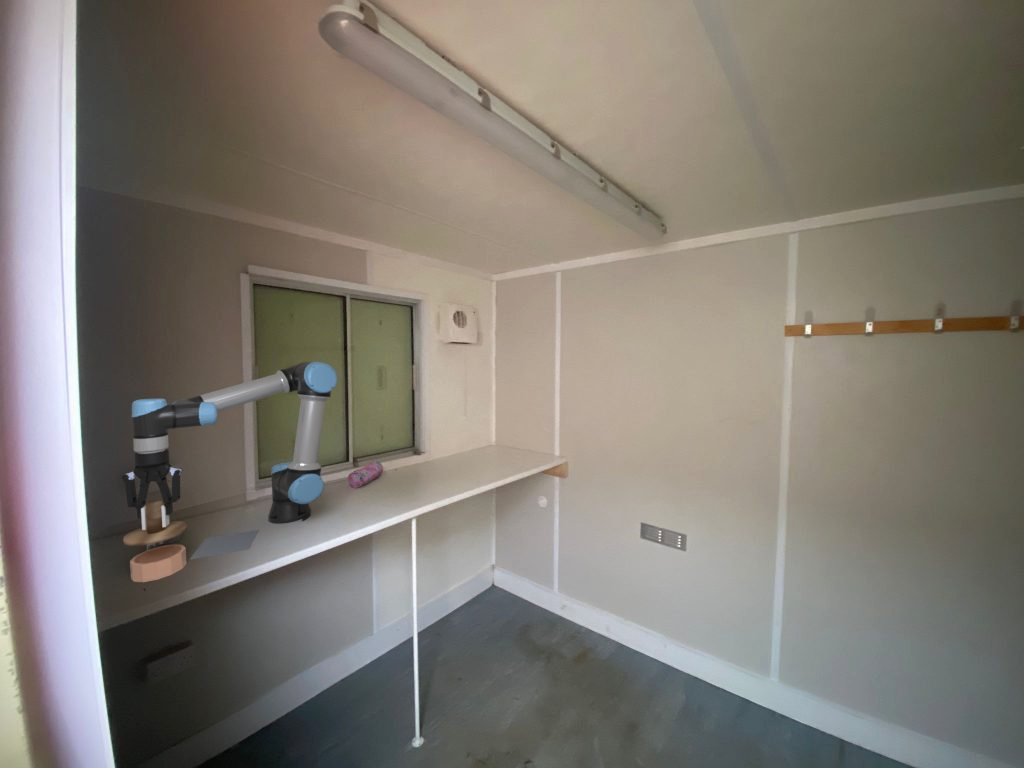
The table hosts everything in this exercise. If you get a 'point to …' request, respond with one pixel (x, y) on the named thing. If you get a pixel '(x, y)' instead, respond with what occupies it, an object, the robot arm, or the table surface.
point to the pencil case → (365, 474)
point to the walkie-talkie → (164, 542)
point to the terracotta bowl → (157, 563)
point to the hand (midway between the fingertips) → (156, 526)
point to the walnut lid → (154, 527)
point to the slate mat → (225, 544)
